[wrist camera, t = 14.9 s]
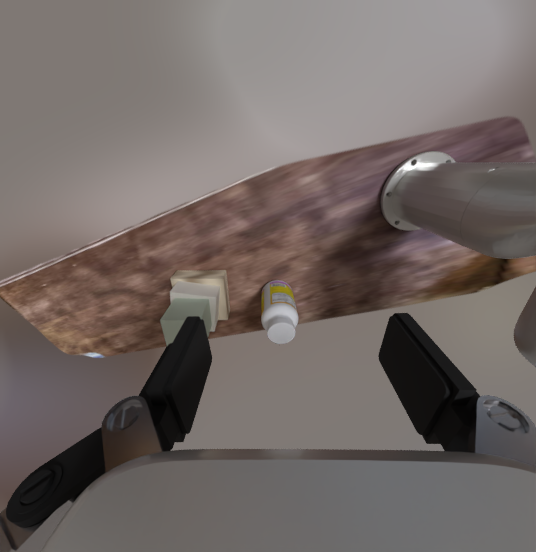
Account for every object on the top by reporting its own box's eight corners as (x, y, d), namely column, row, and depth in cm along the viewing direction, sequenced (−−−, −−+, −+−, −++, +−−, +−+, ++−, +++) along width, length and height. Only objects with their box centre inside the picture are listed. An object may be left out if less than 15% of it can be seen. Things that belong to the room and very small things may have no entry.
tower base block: (226, 269, 44) (223, 278, 41) (230, 308, 49) (227, 320, 45) (177, 269, 44) (170, 278, 41) (186, 308, 49) (180, 320, 45)
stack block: (208, 298, 38) (199, 320, 33) (211, 325, 41) (203, 349, 35) (174, 298, 38) (159, 320, 33) (180, 324, 41) (167, 348, 35)
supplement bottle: (274, 309, 49) (277, 354, 37) (255, 290, 46) (252, 332, 35) (298, 293, 47) (309, 335, 35) (279, 272, 44) (284, 311, 33)
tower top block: (220, 286, 41) (216, 297, 38) (218, 318, 45) (214, 331, 42) (178, 280, 41) (169, 291, 37) (179, 314, 44) (172, 327, 41)
